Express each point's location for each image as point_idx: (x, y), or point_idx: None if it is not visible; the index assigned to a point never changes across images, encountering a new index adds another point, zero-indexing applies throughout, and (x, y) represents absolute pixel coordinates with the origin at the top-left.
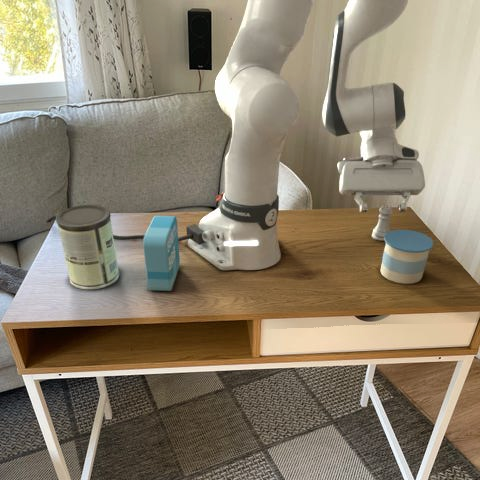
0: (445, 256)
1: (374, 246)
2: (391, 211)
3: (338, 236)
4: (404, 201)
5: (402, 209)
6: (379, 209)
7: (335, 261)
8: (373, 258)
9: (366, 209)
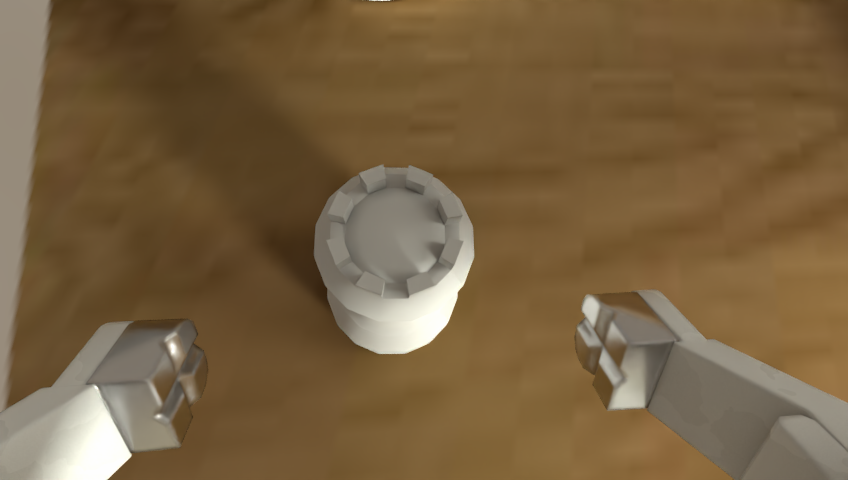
0: (57, 65)
1: (453, 175)
2: (341, 190)
3: None
4: (71, 394)
5: (166, 319)
6: (469, 248)
7: (672, 23)
8: (482, 47)
9: (601, 295)
